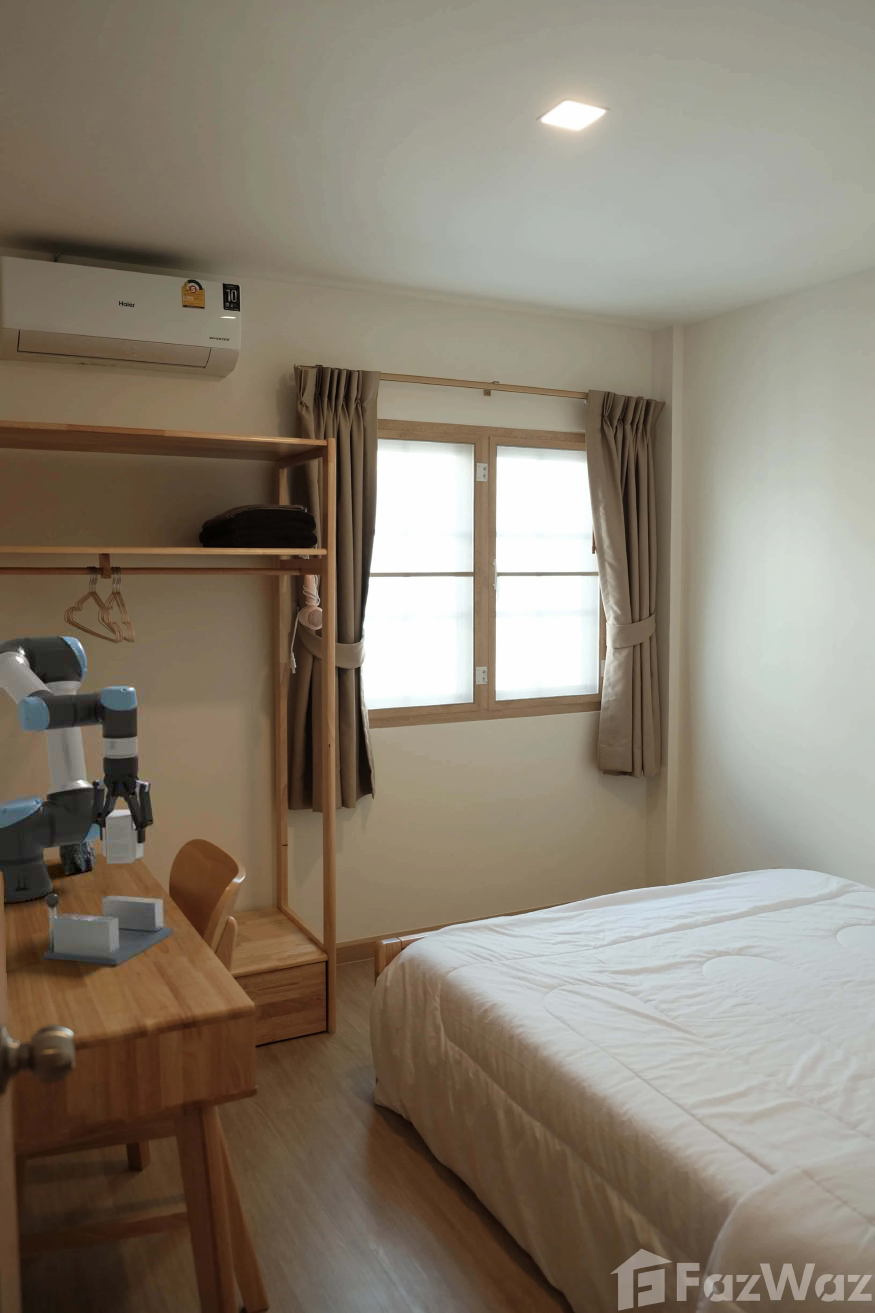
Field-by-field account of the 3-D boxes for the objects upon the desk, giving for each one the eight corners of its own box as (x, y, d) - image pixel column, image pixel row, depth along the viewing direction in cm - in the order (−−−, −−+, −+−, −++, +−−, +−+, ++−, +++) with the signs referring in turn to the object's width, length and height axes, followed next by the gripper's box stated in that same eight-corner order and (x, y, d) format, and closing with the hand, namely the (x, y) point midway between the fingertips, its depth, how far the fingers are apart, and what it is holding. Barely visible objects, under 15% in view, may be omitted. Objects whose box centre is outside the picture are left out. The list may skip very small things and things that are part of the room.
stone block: (95, 873, 264) (92, 798, 263) (59, 876, 261) (56, 801, 260) (96, 857, 281) (94, 787, 280) (62, 860, 278) (60, 789, 278)
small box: (114, 854, 228) (113, 809, 227) (139, 854, 228) (138, 808, 227) (106, 864, 220) (104, 817, 219) (131, 863, 220) (130, 816, 220)
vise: (102, 927, 218) (100, 870, 217) (173, 933, 213) (171, 875, 212) (41, 957, 199) (39, 895, 198) (117, 965, 194) (115, 901, 193)
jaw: (111, 922, 217) (110, 895, 216) (163, 927, 213) (162, 899, 213) (102, 926, 214) (101, 899, 213) (155, 931, 210) (154, 903, 210)
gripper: (71, 756, 222) (74, 857, 223) (150, 760, 216) (152, 863, 217) (92, 751, 229) (95, 849, 230) (168, 754, 223) (171, 855, 225)
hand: (123, 856), depth 224 cm, fingers closed on small box, 7 cm apart
